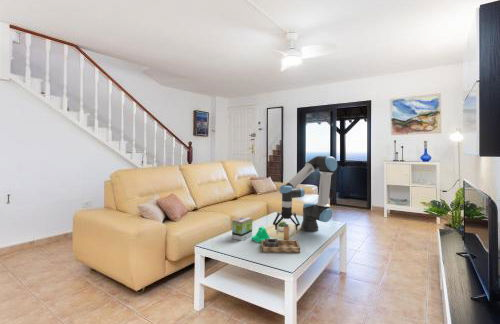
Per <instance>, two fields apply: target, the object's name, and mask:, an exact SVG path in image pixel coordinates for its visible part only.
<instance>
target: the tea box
mask: <svg viewBox="0 0 500 324" xmlns="http://www.w3.org/2000/svg"><path fill="white" fill-rule="evenodd" d="M231 227H232V228H231V238H232V239H234V240H237V241H241V242H242V241H244V240H246V239H248V238H250V237H253V218H252V217H247V216H240V217H238V218H235V219H233V220H232V224H231Z"/></svg>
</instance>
